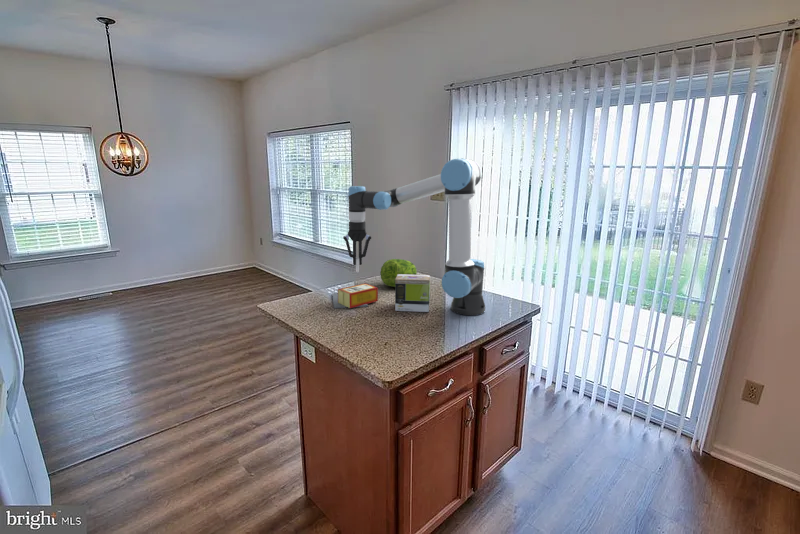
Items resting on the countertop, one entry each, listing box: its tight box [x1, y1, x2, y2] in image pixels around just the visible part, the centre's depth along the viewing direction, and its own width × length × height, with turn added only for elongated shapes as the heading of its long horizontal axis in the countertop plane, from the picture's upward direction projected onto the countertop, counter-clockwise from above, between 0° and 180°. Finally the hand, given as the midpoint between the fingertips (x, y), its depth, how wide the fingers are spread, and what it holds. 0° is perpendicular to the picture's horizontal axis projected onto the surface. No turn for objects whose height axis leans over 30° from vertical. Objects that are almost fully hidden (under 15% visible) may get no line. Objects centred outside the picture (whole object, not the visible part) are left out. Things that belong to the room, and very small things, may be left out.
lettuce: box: [380, 258, 418, 288], centre depth 209 cm, size 16×21×15 cm
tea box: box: [394, 274, 431, 313], centre depth 175 cm, size 15×10×15 cm, turn 84°
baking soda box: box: [337, 283, 379, 309], centre depth 180 cm, size 10×6×16 cm
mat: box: [331, 292, 369, 309], centre depth 185 cm, size 20×15×1 cm
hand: (357, 271), depth 183 cm, fingers closed
